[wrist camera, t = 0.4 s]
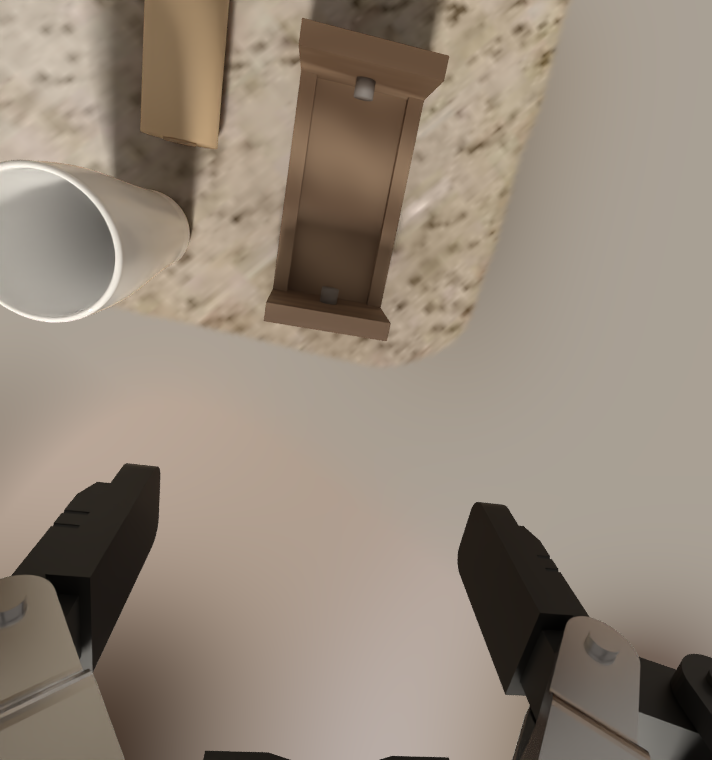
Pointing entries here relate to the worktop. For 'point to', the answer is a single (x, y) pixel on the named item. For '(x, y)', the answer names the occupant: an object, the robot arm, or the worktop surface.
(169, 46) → the roll
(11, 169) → the drinking glass
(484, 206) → the worktop surface
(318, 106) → the holder
